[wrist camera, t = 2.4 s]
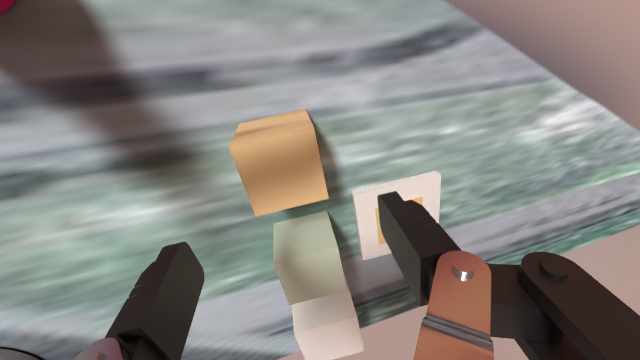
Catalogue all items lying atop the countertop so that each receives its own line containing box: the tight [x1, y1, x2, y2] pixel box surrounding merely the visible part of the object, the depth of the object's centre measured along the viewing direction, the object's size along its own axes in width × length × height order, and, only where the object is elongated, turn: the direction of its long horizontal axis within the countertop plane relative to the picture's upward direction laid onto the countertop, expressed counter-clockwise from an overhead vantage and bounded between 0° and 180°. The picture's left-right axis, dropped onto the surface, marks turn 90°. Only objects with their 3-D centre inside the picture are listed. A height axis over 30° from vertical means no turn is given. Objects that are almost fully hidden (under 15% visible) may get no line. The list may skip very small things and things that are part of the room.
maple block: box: [229, 109, 329, 216], centre depth 18 cm, size 5×5×5 cm
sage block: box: [273, 211, 347, 305], centre depth 23 cm, size 5×5×5 cm
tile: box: [351, 171, 441, 260], centre depth 25 cm, size 8×8×1 cm
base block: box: [292, 275, 364, 360], centre depth 28 cm, size 6×6×5 cm
